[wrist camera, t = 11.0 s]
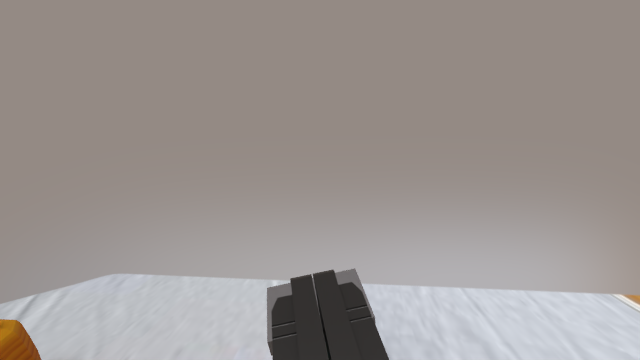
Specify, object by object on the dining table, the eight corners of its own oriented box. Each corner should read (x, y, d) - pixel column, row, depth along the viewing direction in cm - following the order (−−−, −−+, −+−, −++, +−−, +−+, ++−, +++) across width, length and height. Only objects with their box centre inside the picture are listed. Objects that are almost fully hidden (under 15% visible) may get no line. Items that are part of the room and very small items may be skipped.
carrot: (5, 415, 35) (-84, 314, 29) (57, 376, 38) (-12, 279, 33) (19, 440, 32) (-74, 335, 26) (74, 395, 36) (2, 294, 30)
